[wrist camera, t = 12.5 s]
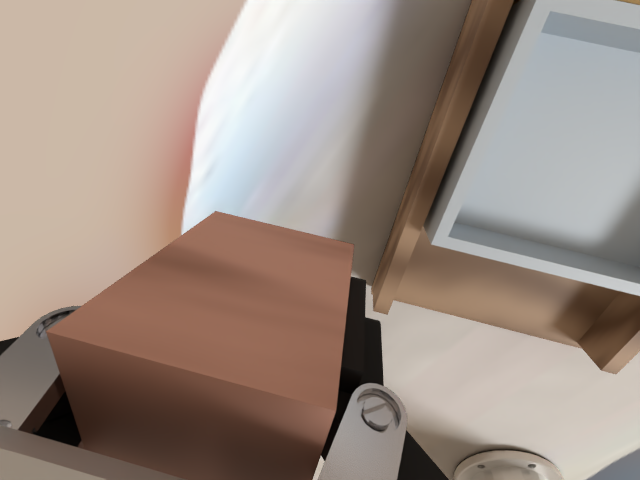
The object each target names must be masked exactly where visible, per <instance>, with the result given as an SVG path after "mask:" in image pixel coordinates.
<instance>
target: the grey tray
mask: <svg viewBox="0 0 640 480" xmlns="http://www.w3.org/2000/svg"><path fill="white" fill-rule="evenodd" d="M423 227H424V229H425V231H426V234H427V236H428V238H429V241H430V243H431V245H435V246H440V247H444V248H448V249H452V250H456V251H460V252H464V253H468V254H472V255H476V256H480V257H484V258H488V259H492V260H496V261H500V262H504V263H508V264H512V265H516V266H520V267H524V268H528V269H532V270H537V271H541V272H545V273H549V274H553V275H557V276H561V277H565V278H569V279H573V280H577V281H581V282H585V283H589V284H593V285H597V286H601V287H605V288H609V289H613V290H617V291H621V292H625V293H629V294H634V295H638V296H640V5H636V4H631V3H626V2H621V1H616V0H520V1H518V2H517V3H515V4H514V5H512V6H511V9H510V11H509V14H508V16H507V19H506V21H505V24H504V26H503V29H502V31H501V34H500V36H499V39H498V41H497V44H496V46H495V49H494V51H493V54H492V56H491V59H490V61H489V64H488V66H487V68H486V71H485V73H484V76H483V78H482V81H481V83H480V86H479V88H478V91H477V93H476V96H475V98H474V101H473V103H472V106H471V108H470V111H469V113H468V116H467V118H466V121H465V123H464V126H463V128H462V131H461V133H460V136H459V138H458V141H457V143H456V146H455V148H454V150H453V153H452V155H451V158H450V160H449V163H448V165H447V168H446V170H445V173H444V175H443V178H442V180H441V183H440V185H439V188H438V190H437V193H436V195H435V198H434V200H433V203H432V205H431V208H430V210H429V213H428V215H427V218H426V220H425V223H424V225H423Z"/></svg>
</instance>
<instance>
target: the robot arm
mask: <svg viewBox="0 0 640 480" xmlns="http://www.w3.org/2000/svg"><path fill="white" fill-rule="evenodd" d="M365 297H366V280H363V279H359V278H355V277H351V278H350V287H349V297H348V306H347V315H346V324H345V333H344V343H343V352H342V361H341V370H340V379H339V389H338V398H337V407H336V413H335V415H334V418H333V421H332V424H331V427H330V430H329V433H328V436H327V439H326V442H325V444H324V447H323V450H322V453H321V456H322V457H323V459H324V461H325V463H324V465H323V468H322V470H321V473H320V475H319V477H318V480H449V479H448V478H447V477H446V476H445V475H444V474H443V472H442V471H441V470H440V469H439V468H438V467H437V465H436V464H435V463H434V462H433V461H432V460H431V458H430V457H429V456H428V455H427V454H426V453H425V451H424V450H423V449H422V448H421V447H420V446H419V444H418V443H417V442H416V441H415V440H414V439H413V437H412V436H411V435H410V434H409V433H408V432H407V430H406V428H407V413H406V410H405V407H404V405H403V404H402V402H401V400H400V399H399V398H398V397H397V396H396V395H395V393H394V392H392V391H391V390H389V389H388V388H386V387H384V384H383V363H382V342H381V324H380V321H378V320H374V319H370V318H366V317H365ZM80 307H81V306H71V307H66V308H61V309H58V310H55V311H53V312H50V313H48V314H47V315H44V316H42V317H41V318H40V319H38V320H37V321H36V322H35V323H33V324H32V325H31V326H30V327H29V328H28V329H27V330H26V331H25V332H24V333H23V334H22V335H21V336H20V337H17V338H12V339H9V340H4V341H0V480H186V479H183V478H179V477H176V476H172V475H169V474H166V473H162V472H159V471H156V470H152V469H149V468H145V467H142V466H139V465H135V464H132V463H129V462H125V461H122V460H118V459H115V458H112V457H108V456H105V455H101V454H98V453H95V452H91V451H88V450H85V449H84V446H83V442H82V439H81V436H80V433H79V430H78V427H77V424H76V421H75V418H74V415H73V412H72V409H71V406H70V403H69V400H68V397H67V394H66V391H65V388H64V385H63V382H62V379H61V376H60V373H59V369H58V366H57V363H56V360H55V357H54V354H53V351H52V348H51V345H50V342H49V339H48V336H47V333H46V331H47V330H49V329H50V328H52V327H53V326H54V325H56V324H57V323H59V322H60V321H61V320H63V319H64V318H66V317H67V316H69V315H70V314H71V313H73V312H74V311H76V310H77V309H78V308H80ZM454 480H564V479H563V477H562V475H561V473H560V471H559V470H558V469H557V468H556V466H555V465H553V464H552V463H550V462H549V461H548V460H546V459H543V458H541V457H539V456H536V455H533V454H530V453H526V452H520V451H511V450H496V451H489V452H484V453H480V454H476V455H474V456H471V457H469V458H467V459H466V460H464V461H463V462H462V463H461V464H460V465H458V467H457V468H456V470H455V473H454Z"/></svg>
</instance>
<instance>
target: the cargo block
mask: <svg viewBox="0 0 640 480" xmlns="http://www.w3.org/2000/svg"><path fill="white" fill-rule="evenodd" d="M353 251H354V244H350V243H346V242H342V241H338V240H334V239H329V238H325V237H321V236H317V235H313V234H309V233H305V232H300V231H296V230H292V229H288V228H284V227H280V226H275V225H271V224H267V223H263V222H259V221H255V220H250V219H246V218H242V217H238V216H234V215H230V214H225V213H221V212H217V211H215V212H214V213H213V214H211V215H210V216H208V217H207V218H206V219H204V220H203V221H201V222H200V223H198V224H197V225H196V226H194V227H193V228H191V229H190V230H189V231H187V232H186V233H184V234H183V235H181V236H180V237H179V238H177V239H176V240H175V241H173V242H172V243H170V244H169V245H168V246H166V247H165V248H163V249H162V250H160V251H159V252H158V253H156V254H155V255H153V256H152V257H150V258H149V259H148V260H146V261H145V262H143V263H142V264H141V265H139V266H138V267H136V268H135V269H134V270H132V271H131V272H129V273H128V274H126V275H125V276H124V277H122V278H121V279H119V280H118V281H117V282H115V283H114V284H112V285H111V286H109V287H108V288H107V289H105V290H104V291H102V292H101V293H100V294H98V295H97V296H96V297H94V298H93V299H91V300H90V301H88V302H87V303H85V304H84V305H83V306H81V307H80V308H78V309H77V310H76V311H74V312H73V313H71V314H70V315H69V316H67V317H66V318H64V319H63V320H61V321H60V322H59V323H57V324H56V325H54V326H53V327H52V328H50V329H49V330H47V331H46V333H47V336H48V339H49V342H50V345H51V348H52V351H53V354H54V357H55V360H56V363H57V366H58V369H59V373H60V376H61V379H62V382H63V385H64V388H65V391H66V394H67V397H68V400H69V403H70V406H71V409H72V412H73V415H74V418H75V421H76V424H77V427H78V430H79V433H80V436H81V439H82V442H83V446H84V449H85V450H88V451H91V452H95V453H98V454H101V455H105V456H108V457H112V458H115V459H118V460H122V461H125V462H129V463H132V464H135V465H139V466H142V467H145V468H149V469H152V470H156V471H159V472H162V473H166V474H169V475H172V476H176V477H179V478H183V479H186V480H312V479H313V476H314V473H315V470H316V468H317V465H318V462H319V459H320V456H321V453H322V450H323V447H324V444H325V442H326V439H327V436H328V433H329V430H330V427H331V424H332V421H333V418H334V415H335V413H336V407H337V398H338V389H339V379H340V370H341V361H342V352H343V343H344V333H345V324H346V315H347V306H348V297H349V287H350V278H351V269H352V260H353Z"/></svg>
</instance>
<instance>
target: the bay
mask: <svg viewBox="0 0 640 480" xmlns="http://www.w3.org/2000/svg"><path fill="white" fill-rule="evenodd" d="M518 1H520V0H472V2H471V4H470V7H469V10H468V13H467V16H466V19H465V22H464V24H463V27H462V30H461V33H460V36H459V39H458V42H457V45H456V47H455V50H454V53H453V56H452V59H451V62H450V65H449V67H448V70H447V73H446V76H445V79H444V82H443V85H442V87H441V90H440V93H439V96H438V99H437V102H436V105H435V107H434V110H433V113H432V116H431V119H430V122H429V125H428V128H427V130H426V133H425V136H424V139H423V142H422V145H421V148H420V150H419V153H418V156H417V159H416V162H415V165H414V168H413V170H412V173H411V176H410V179H409V182H408V185H407V188H406V190H405V193H404V196H403V199H402V202H401V205H400V208H399V211H398V213H397V216H396V219H395V222H394V225H393V228H392V231H391V233H390V236H389V239H388V242H387V245H386V248H385V251H384V253H383V256H382V259H381V262H380V265H379V268H378V271H377V273H376V276H375V279H374V282H373V285H372V288H371V294H373V311H376V312H379V313H383V314H388V312H389V310H390V307H391V305H392V302H393V300H396V301H400V302H404V303H407V304H411V305H415V306H419V307H423V308H427V309H431V310H435V311H438V312H442V313H446V314H450V315H454V316H458V317H462V318H466V319H469V320H473V321H477V322H481V323H485V324H489V325H493V326H497V327H500V328H504V329H508V330H512V331H516V332H520V333H524V334H528V335H531V336H535V337H539V338H543V339H547V340H551V341H555V342H559V343H562V344H566V345H570V346H574V347H578V348H582V349H583V350H584V351H585V352H586V353H587V354H588V356H589V357H590V358H591V359H592V360H593V361H594V363H595V364H596V365H597V366H598V367H599V368H600V370H602V371H606V372H609V373H613V374H617V373H618V372H619V371H620V370H621V369H622V368H623V367H624V366H625V365H626V364H627V363H628V362H629V361H630V360H631V359H632V358H633V357H634V356H635V355H636V354H637V353H638V352H639V351H640V296H638V295H634V294H629V293H625V292H621V291H617V290H613V289H609V288H605V287H601V286H597V285H593V284H589V283H585V282H581V281H577V280H573V279H569V278H565V277H561V276H557V275H553V274H549V273H545V272H541V271H537V270H532V269H528V268H524V267H520V266H516V265H512V264H508V263H504V262H500V261H496V260H492V259H488V258H484V257H480V256H476V255H472V254H468V253H464V252H460V251H456V250H452V249H448V248H444V247H440V246H435V245H431V243H430V241H429V238H428V236H427V234H426V231H425V229H424V227H423V225H424V223H425V220H426V218H427V215H428V213H429V210H430V208H431V205H432V203H433V200H434V198H435V195H436V193H437V190H438V188H439V185H440V183H441V180H442V178H443V175H444V173H445V170H446V168H447V165H448V163H449V160H450V158H451V155H452V153H453V150H454V148H455V146H456V143H457V141H458V138H459V136H460V133H461V131H462V128H463V126H464V123H465V121H466V118H467V116H468V113H469V111H470V108H471V106H472V103H473V101H474V98H475V96H476V93H477V91H478V88H479V86H480V83H481V81H482V78H483V76H484V73H485V71H486V68H487V66H488V64H489V61H490V59H491V56H492V54H493V51H494V49H495V46H496V44H497V41H498V39H499V36H500V34H501V31H502V29H503V26H504V24H505V21H506V19H507V16H508V14H509V11H510V9H511V6H512V5H514V4H515V3H517V2H518ZM616 1H621V2H626V3H631V4H636V5H640V0H616Z"/></svg>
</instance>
